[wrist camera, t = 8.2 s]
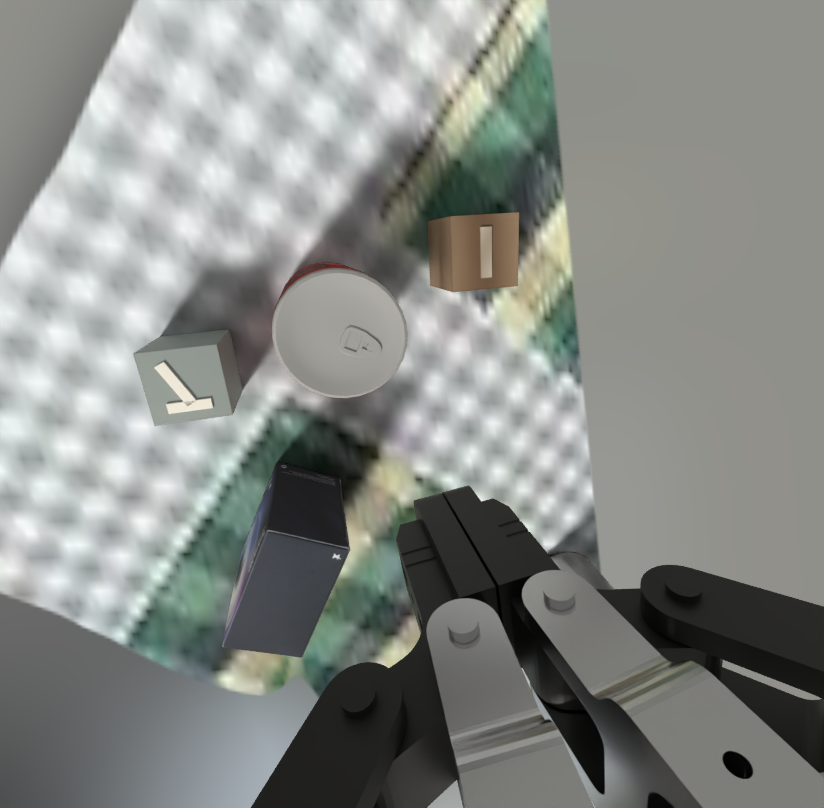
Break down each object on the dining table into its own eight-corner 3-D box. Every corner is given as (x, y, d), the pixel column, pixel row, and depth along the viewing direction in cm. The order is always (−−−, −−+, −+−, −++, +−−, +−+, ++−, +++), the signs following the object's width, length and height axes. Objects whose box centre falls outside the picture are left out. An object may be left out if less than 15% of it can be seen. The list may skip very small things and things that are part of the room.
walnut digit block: (485, 217, 36) (520, 212, 31) (486, 280, 38) (518, 286, 32) (427, 221, 35) (451, 216, 30) (430, 285, 37) (453, 292, 31)
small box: (272, 457, 39) (263, 527, 29) (342, 476, 41) (356, 547, 31) (236, 556, 41) (216, 650, 31) (304, 568, 43) (305, 661, 34)
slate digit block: (229, 328, 34) (216, 345, 29) (242, 389, 36) (232, 415, 30) (160, 336, 33) (132, 354, 28) (177, 397, 35) (154, 426, 29)
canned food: (374, 360, 38) (402, 401, 28) (277, 354, 36) (269, 396, 26) (383, 268, 36) (416, 277, 25) (280, 256, 33) (272, 260, 23)
